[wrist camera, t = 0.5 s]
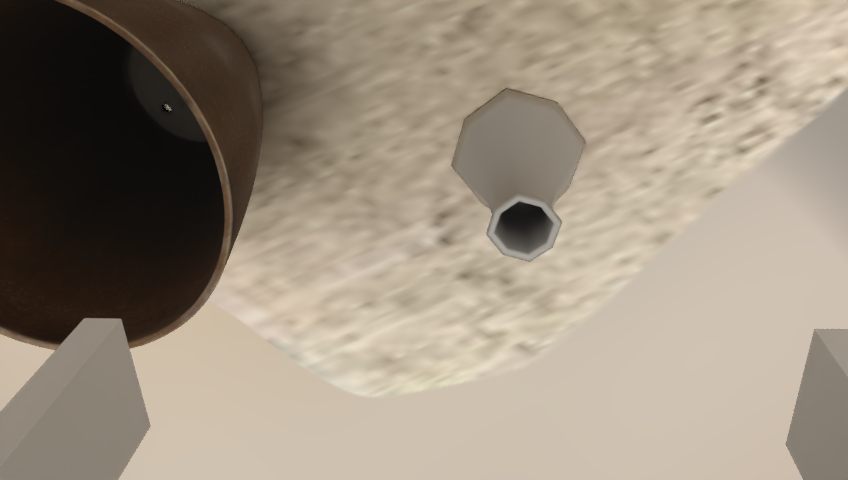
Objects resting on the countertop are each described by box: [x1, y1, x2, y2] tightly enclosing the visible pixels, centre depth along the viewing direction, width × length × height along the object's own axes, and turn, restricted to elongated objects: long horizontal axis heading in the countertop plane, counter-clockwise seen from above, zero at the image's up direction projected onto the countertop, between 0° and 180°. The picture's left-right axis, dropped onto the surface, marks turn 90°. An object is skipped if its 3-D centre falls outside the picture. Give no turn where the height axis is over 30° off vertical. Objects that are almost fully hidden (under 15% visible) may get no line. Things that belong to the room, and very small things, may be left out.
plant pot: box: [0, 0, 263, 350], centre depth 34 cm, size 15×15×16 cm
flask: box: [451, 89, 586, 262], centre depth 37 cm, size 7×7×10 cm
